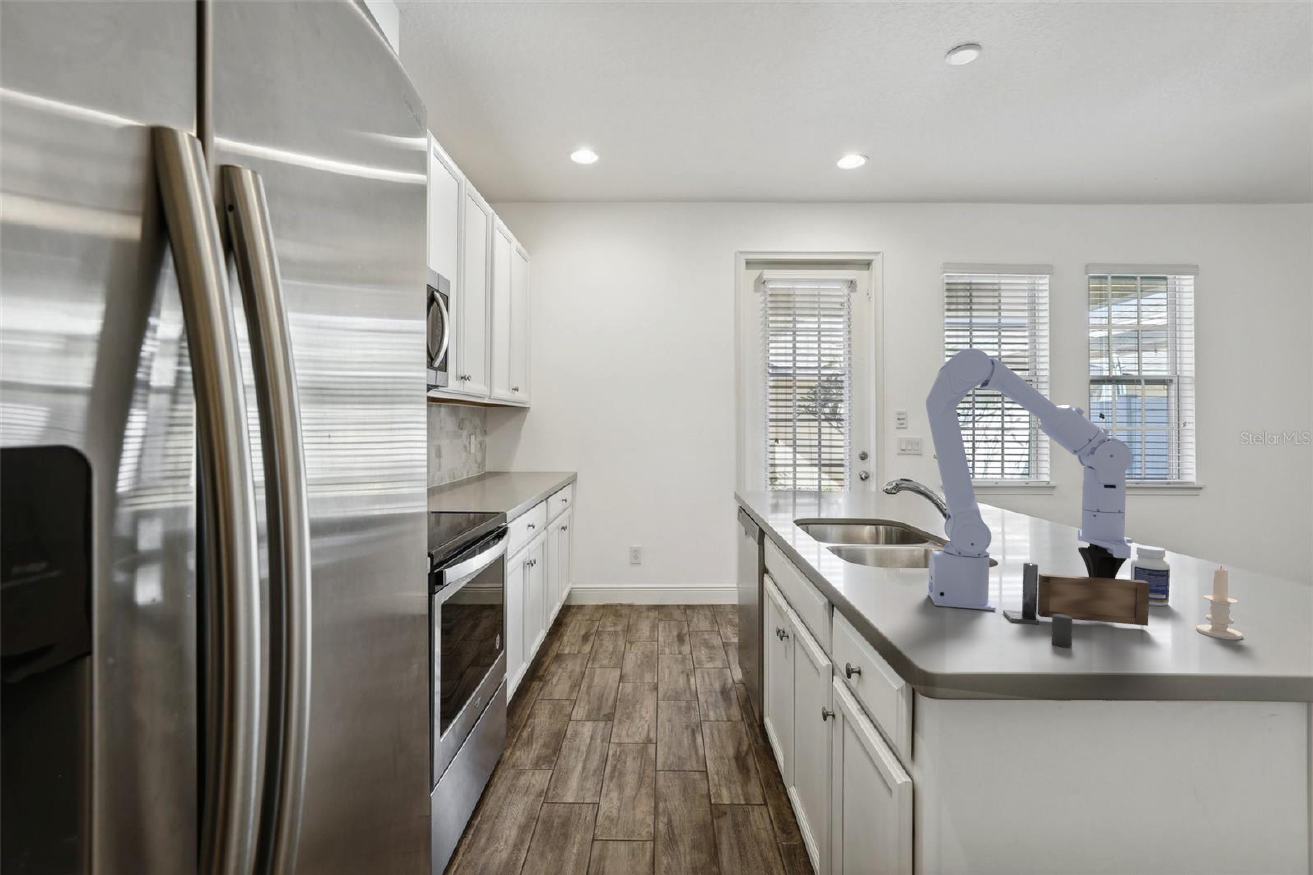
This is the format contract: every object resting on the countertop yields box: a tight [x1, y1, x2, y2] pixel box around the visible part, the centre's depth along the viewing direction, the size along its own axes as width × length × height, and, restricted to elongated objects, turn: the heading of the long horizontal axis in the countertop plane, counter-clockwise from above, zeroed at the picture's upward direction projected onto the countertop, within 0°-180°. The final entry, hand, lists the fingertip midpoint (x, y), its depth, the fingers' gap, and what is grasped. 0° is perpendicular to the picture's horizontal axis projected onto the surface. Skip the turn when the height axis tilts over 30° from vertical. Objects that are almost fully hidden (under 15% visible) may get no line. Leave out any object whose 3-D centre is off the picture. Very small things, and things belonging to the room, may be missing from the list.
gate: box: [1037, 573, 1150, 627], centre depth 96 cm, size 15×2×7 cm, turn 75°
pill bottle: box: [1130, 545, 1171, 607], centre depth 109 cm, size 5×5×10 cm
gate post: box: [1002, 562, 1040, 625], centre depth 99 cm, size 4×4×9 cm
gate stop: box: [1051, 614, 1074, 648], centre depth 88 cm, size 2×2×4 cm
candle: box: [1196, 565, 1244, 641], centre depth 93 cm, size 5×5×10 cm
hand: (1101, 592), depth 101 cm, fingers closed
